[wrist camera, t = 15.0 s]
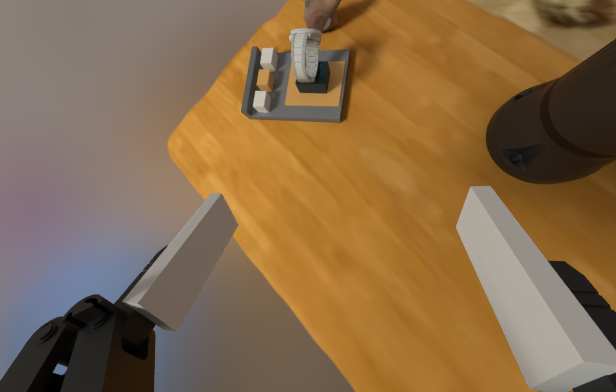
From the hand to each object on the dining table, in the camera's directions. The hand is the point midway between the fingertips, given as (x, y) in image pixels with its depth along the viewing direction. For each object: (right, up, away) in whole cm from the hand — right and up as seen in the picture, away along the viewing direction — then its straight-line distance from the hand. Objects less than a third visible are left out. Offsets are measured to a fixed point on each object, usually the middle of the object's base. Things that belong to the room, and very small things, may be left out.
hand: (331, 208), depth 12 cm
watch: (0, +23, +31) cm, 38 cm away
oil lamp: (+3, +36, +33) cm, 49 cm away
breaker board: (-3, +23, +33) cm, 41 cm away
